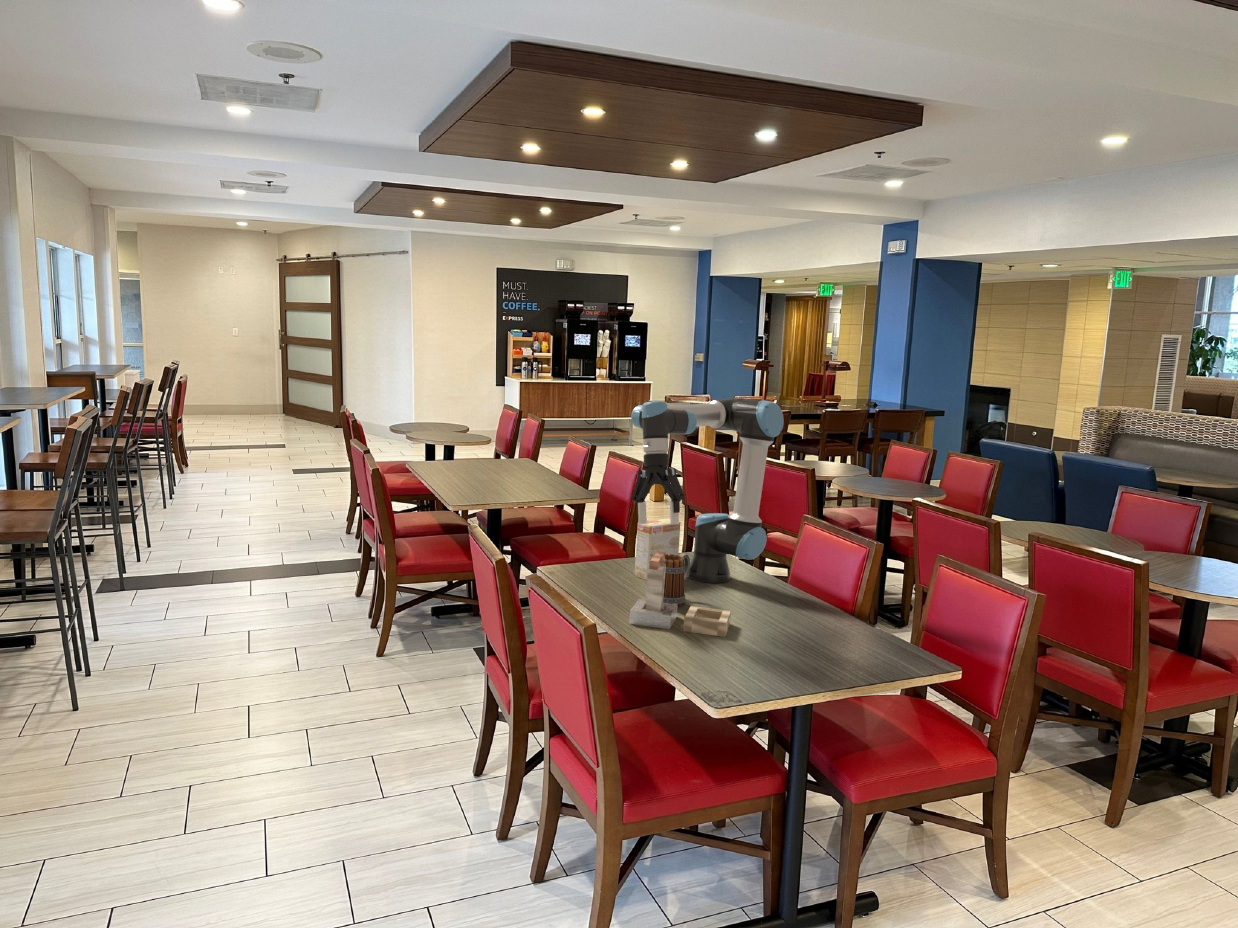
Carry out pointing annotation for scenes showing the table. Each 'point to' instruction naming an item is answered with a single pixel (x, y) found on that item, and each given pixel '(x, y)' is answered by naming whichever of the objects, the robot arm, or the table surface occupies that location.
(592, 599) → the table surface
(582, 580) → the table surface
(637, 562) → the coffeecake box
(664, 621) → the plate
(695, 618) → the block
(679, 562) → the mug
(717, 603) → the table surface
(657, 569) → the t-key
